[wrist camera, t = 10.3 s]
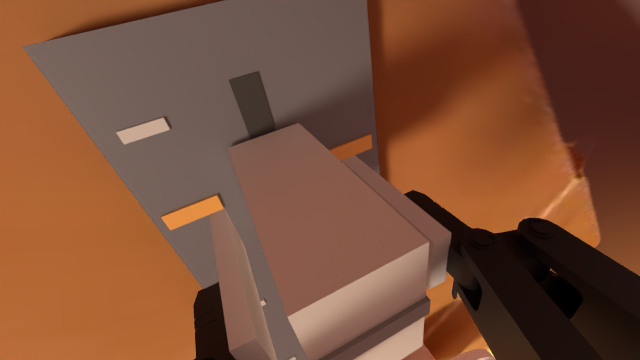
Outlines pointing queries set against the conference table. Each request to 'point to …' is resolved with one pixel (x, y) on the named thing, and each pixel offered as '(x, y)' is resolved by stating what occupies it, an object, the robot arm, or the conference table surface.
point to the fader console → (217, 111)
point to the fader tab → (334, 250)
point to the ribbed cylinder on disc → (422, 356)
